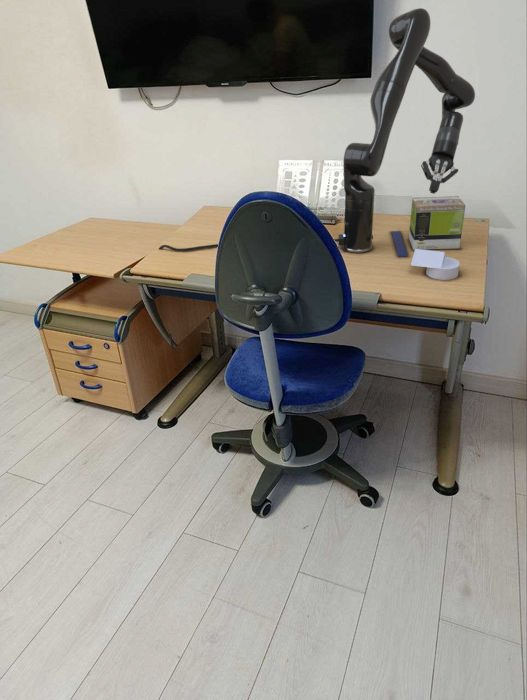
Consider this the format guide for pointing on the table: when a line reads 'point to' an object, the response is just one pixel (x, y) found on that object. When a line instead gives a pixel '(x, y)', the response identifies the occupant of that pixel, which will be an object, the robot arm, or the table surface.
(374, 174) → the robot arm
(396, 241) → the ruler
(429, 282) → the table surface
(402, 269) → the table surface
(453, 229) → the tea box
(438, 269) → the wedge on round base
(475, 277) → the table surface
